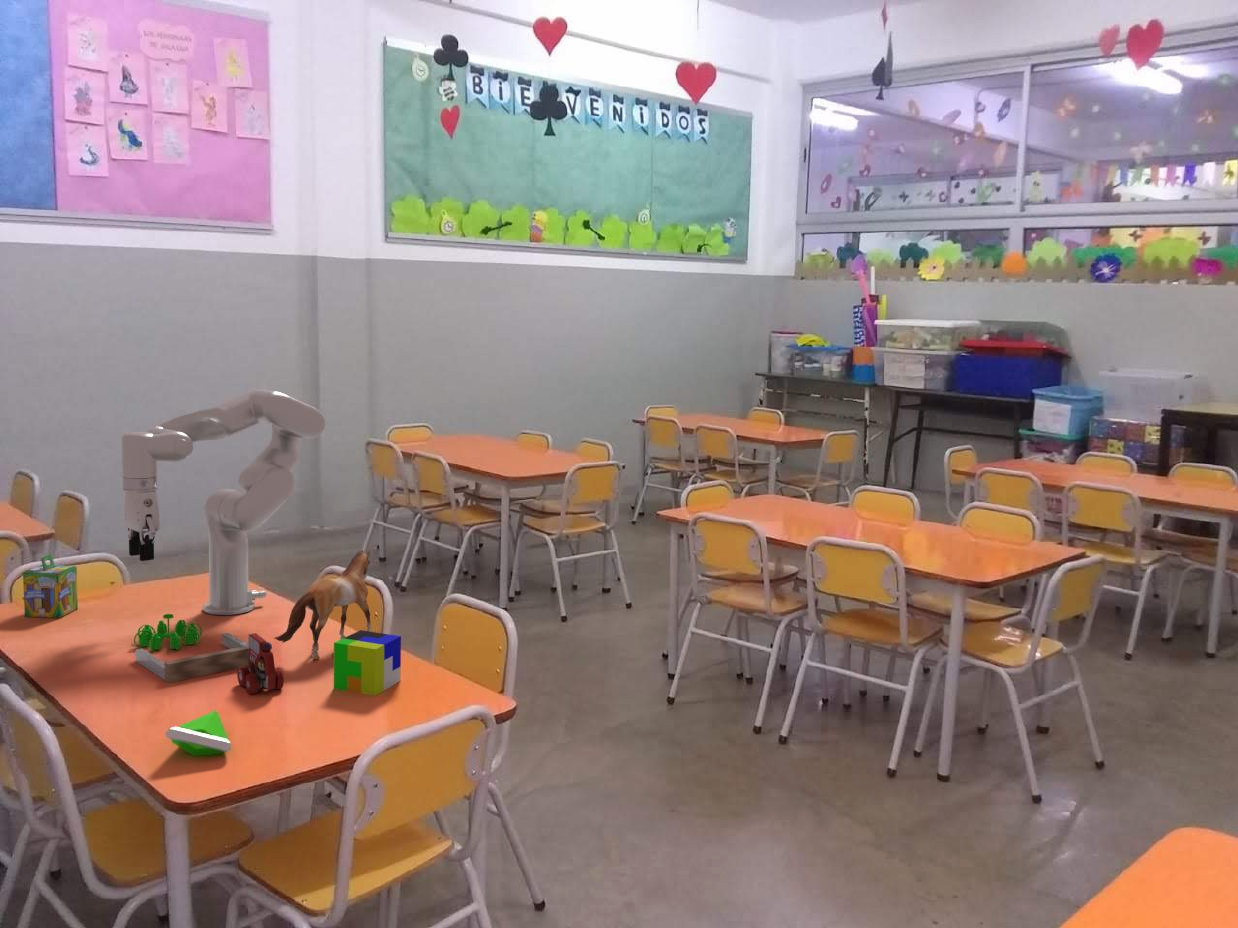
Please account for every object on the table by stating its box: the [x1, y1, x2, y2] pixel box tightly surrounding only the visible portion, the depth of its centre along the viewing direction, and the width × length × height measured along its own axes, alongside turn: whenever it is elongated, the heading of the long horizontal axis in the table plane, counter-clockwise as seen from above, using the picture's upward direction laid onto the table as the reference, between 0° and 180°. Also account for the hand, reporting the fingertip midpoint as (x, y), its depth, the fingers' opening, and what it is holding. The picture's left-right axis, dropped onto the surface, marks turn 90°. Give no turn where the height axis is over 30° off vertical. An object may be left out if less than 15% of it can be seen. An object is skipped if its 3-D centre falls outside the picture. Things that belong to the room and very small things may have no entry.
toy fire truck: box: [236, 632, 285, 695], centre depth 218 cm, size 7×12×10 cm, turn 37°
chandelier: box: [133, 613, 203, 652], centre depth 244 cm, size 15×15×7 cm
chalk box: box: [22, 553, 79, 619], centre depth 263 cm, size 9×9×15 cm
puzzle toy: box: [333, 629, 402, 697], centre depth 222 cm, size 10×10×10 cm
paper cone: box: [165, 710, 232, 757], centre depth 194 cm, size 11×5×25 cm
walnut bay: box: [135, 632, 249, 683], centre depth 232 cm, size 21×18×4 cm
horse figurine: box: [273, 550, 372, 660], centre depth 245 cm, size 31×8×21 cm, turn 155°
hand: (141, 556), depth 253 cm, fingers open, 5 cm apart
